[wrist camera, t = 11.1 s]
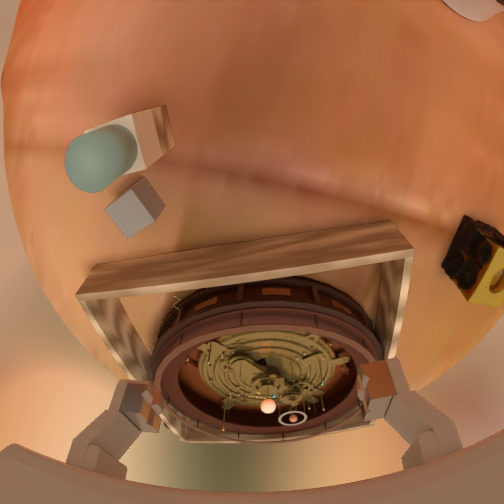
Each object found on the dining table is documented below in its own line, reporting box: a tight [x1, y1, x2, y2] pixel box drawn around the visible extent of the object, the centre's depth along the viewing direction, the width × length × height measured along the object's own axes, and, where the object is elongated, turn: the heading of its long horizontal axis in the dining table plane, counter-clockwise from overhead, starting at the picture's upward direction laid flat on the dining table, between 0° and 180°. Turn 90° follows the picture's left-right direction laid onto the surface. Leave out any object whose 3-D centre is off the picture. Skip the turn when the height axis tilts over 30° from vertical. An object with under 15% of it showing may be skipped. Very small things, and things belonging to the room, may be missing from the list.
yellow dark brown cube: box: [442, 216, 504, 307], centre depth 38 cm, size 10×10×10 cm
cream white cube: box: [84, 109, 163, 176], centre depth 27 cm, size 6×6×6 cm
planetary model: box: [150, 277, 384, 444], centre depth 51 cm, size 43×45×12 cm
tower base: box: [151, 105, 175, 155], centre depth 32 cm, size 6×6×6 cm
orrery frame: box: [75, 221, 414, 443], centre depth 51 cm, size 48×46×8 cm
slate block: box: [104, 177, 165, 239], centre depth 37 cm, size 5×5×5 cm
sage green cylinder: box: [65, 124, 138, 193], centre depth 23 cm, size 5×5×5 cm
